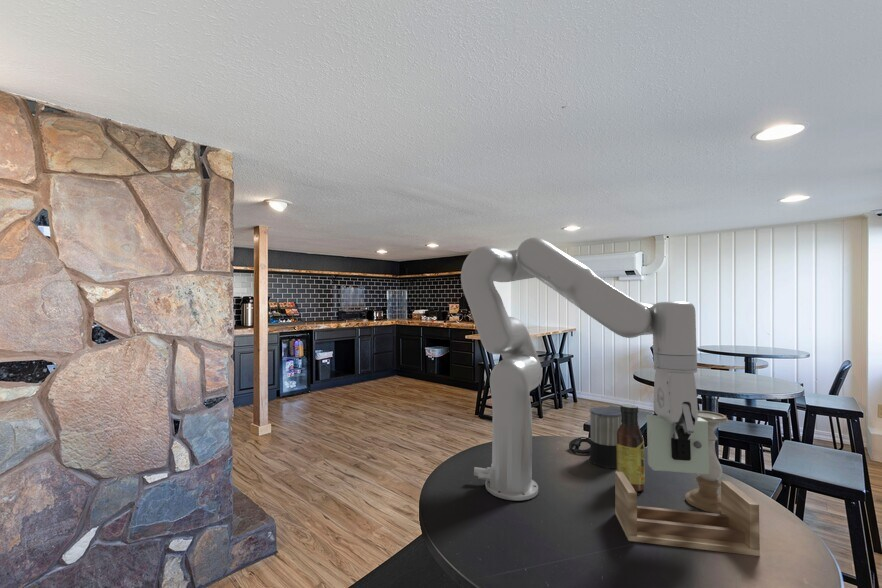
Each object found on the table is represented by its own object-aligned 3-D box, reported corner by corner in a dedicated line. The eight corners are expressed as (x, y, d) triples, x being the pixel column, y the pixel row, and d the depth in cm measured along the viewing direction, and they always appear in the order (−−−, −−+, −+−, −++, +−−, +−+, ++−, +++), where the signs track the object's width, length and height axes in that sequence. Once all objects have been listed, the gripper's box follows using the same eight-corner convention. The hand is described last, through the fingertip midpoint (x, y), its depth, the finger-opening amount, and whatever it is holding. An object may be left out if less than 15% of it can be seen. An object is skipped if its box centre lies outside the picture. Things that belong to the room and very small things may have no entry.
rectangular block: (653, 471, 77) (652, 419, 77) (647, 464, 80) (646, 414, 80) (710, 475, 75) (709, 422, 75) (701, 468, 78) (700, 417, 79)
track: (628, 540, 74) (628, 492, 75) (615, 513, 84) (615, 471, 84) (759, 556, 70) (759, 504, 71) (729, 525, 80) (729, 481, 80)
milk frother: (623, 471, 107) (623, 416, 107) (563, 460, 114) (563, 409, 114) (624, 454, 119) (624, 405, 120) (570, 445, 126) (571, 399, 127)
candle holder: (707, 493, 94) (706, 408, 95) (742, 512, 86) (741, 418, 86) (676, 497, 92) (675, 410, 93) (709, 516, 84) (708, 420, 84)
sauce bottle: (648, 494, 93) (647, 410, 94) (620, 491, 95) (620, 408, 95) (640, 482, 100) (639, 403, 101) (614, 480, 101) (613, 402, 102)
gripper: (641, 358, 87) (643, 441, 86) (670, 368, 71) (673, 471, 70) (678, 358, 86) (680, 443, 85) (716, 369, 70) (719, 474, 69)
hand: (677, 455), depth 78 cm, fingers closed on rectangular block, 3 cm apart
